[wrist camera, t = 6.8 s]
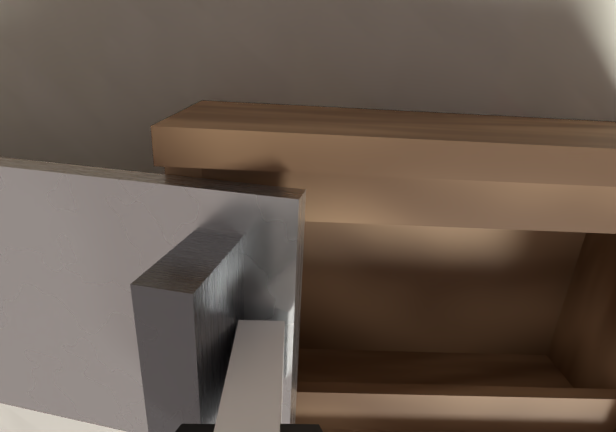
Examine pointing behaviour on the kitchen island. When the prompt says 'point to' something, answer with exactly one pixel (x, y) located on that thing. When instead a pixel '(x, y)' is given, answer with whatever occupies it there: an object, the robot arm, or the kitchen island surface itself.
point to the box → (434, 260)
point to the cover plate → (98, 266)
